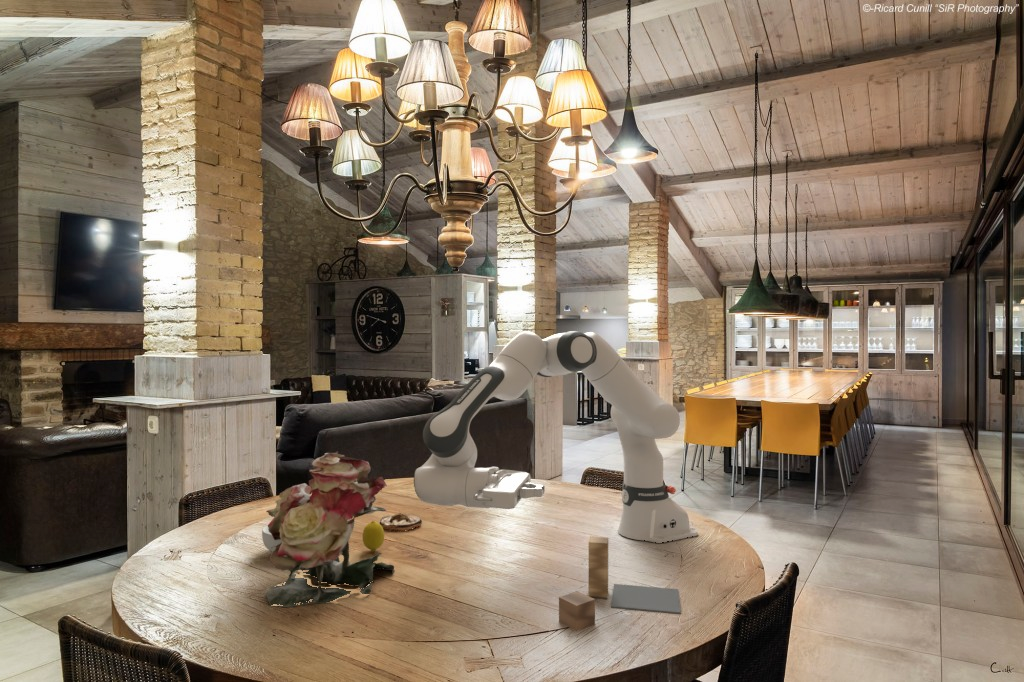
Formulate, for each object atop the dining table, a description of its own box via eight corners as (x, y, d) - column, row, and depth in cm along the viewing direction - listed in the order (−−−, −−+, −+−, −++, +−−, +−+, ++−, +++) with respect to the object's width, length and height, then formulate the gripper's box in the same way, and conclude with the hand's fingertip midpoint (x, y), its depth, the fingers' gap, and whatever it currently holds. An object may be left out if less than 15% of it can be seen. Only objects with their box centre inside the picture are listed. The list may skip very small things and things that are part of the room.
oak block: (588, 597, 136) (588, 542, 136) (590, 590, 140) (590, 536, 140) (607, 599, 135) (607, 543, 135) (608, 591, 139) (608, 537, 139)
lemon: (388, 549, 166) (388, 519, 166) (377, 556, 161) (377, 525, 161) (369, 547, 168) (369, 517, 168) (358, 553, 163) (358, 522, 163)
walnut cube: (577, 615, 127) (577, 590, 127) (594, 624, 123) (595, 599, 123) (558, 622, 124) (558, 597, 124) (576, 631, 120) (576, 605, 120)
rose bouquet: (282, 565, 155) (282, 443, 155) (400, 566, 154) (400, 444, 154) (233, 610, 129) (233, 464, 129) (374, 612, 128) (374, 465, 128)
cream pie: (424, 518, 197) (424, 505, 197) (427, 533, 182) (427, 518, 182) (375, 521, 194) (375, 507, 194) (375, 536, 179) (375, 521, 179)
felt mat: (611, 607, 131) (611, 606, 131) (613, 585, 143) (613, 583, 143) (680, 613, 128) (680, 612, 128) (677, 590, 140) (677, 589, 140)
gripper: (470, 484, 132) (535, 487, 130) (493, 465, 152) (550, 467, 150) (470, 514, 132) (535, 518, 130) (493, 491, 152) (550, 494, 150)
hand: (543, 491), depth 140 cm, fingers closed
